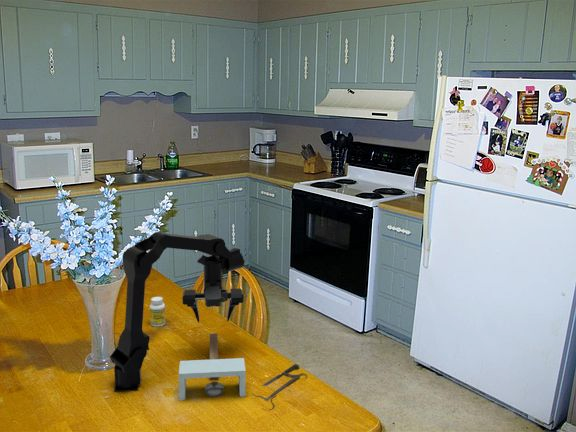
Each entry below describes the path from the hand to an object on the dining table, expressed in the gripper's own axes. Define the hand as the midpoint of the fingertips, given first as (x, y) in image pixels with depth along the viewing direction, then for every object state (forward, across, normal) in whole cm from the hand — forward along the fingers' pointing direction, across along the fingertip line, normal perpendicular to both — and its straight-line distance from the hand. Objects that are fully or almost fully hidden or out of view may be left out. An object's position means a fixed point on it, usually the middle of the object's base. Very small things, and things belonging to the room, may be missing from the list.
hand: (213, 321), depth 173 cm
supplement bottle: (+11, -19, +23) cm, 32 cm away
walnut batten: (+11, 0, -7) cm, 13 cm away
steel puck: (+11, 0, -23) cm, 26 cm away
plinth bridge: (+11, 0, -23) cm, 25 cm away
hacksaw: (+11, +20, -22) cm, 32 cm away
